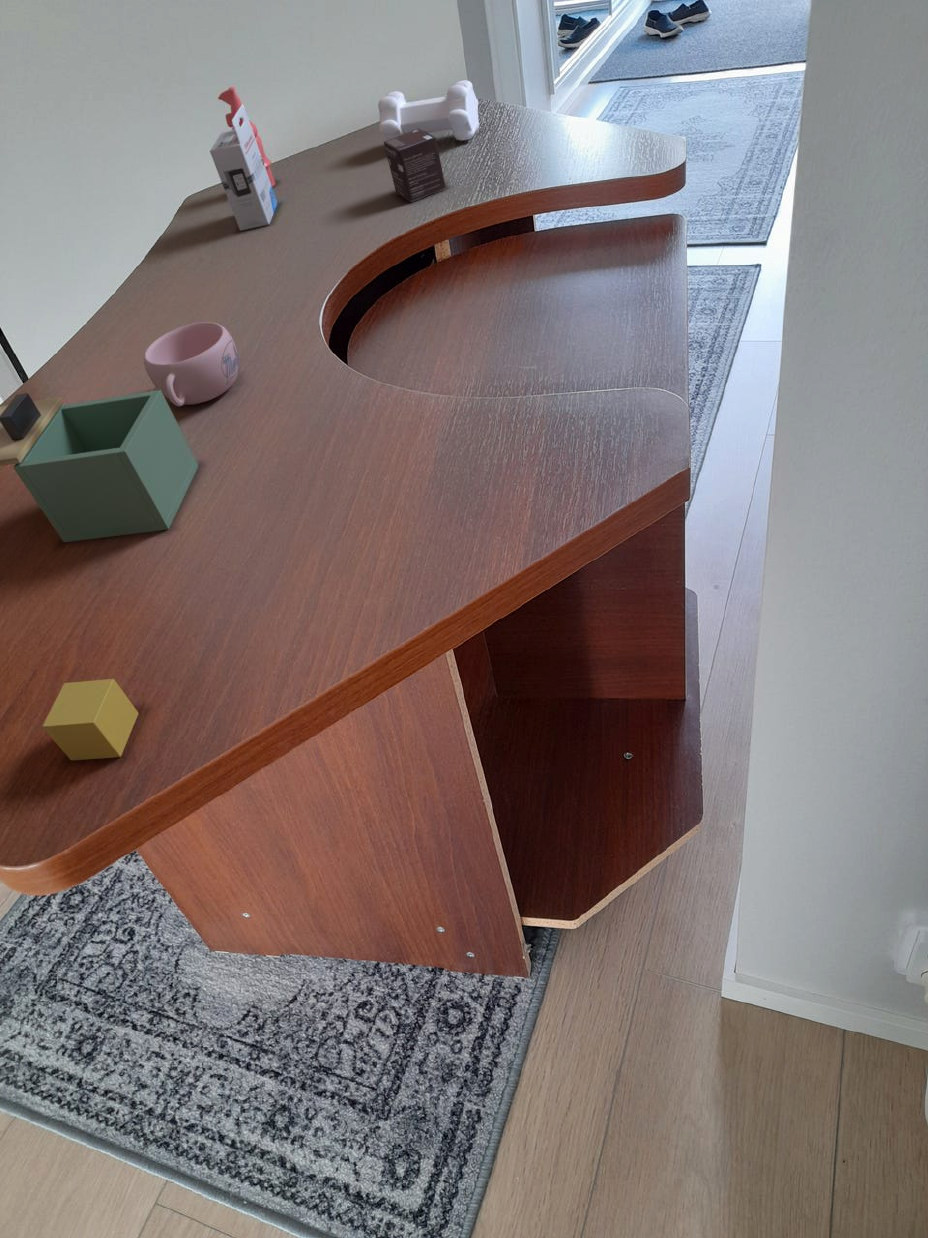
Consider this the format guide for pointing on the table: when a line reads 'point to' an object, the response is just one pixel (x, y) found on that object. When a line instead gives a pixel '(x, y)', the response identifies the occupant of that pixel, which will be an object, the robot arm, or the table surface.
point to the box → (415, 165)
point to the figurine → (235, 103)
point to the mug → (193, 363)
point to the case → (110, 467)
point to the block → (91, 719)
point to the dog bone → (431, 113)
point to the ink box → (244, 174)
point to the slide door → (23, 425)
